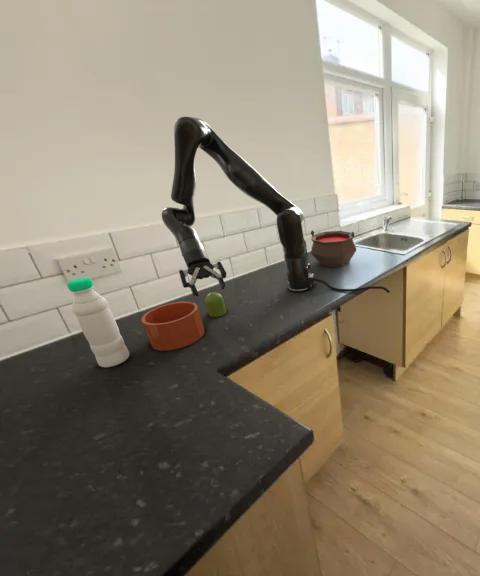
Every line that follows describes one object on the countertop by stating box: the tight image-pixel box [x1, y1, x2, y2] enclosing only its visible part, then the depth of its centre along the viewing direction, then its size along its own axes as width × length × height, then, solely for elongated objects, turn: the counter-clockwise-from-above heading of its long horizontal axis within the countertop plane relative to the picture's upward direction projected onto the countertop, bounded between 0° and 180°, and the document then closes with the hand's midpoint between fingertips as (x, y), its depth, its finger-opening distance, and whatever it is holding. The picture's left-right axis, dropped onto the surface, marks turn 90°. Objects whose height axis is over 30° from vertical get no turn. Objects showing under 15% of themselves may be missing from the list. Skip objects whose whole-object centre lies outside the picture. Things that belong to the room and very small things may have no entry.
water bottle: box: [66, 276, 130, 368], centre depth 85 cm, size 7×7×25 cm
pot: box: [140, 301, 205, 352], centre depth 99 cm, size 15×15×9 cm
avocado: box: [204, 291, 227, 318], centre depth 113 cm, size 6×6×8 cm
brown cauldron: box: [310, 229, 357, 268], centre depth 158 cm, size 24×24×16 cm
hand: (210, 291), depth 113 cm, fingers open, 8 cm apart
